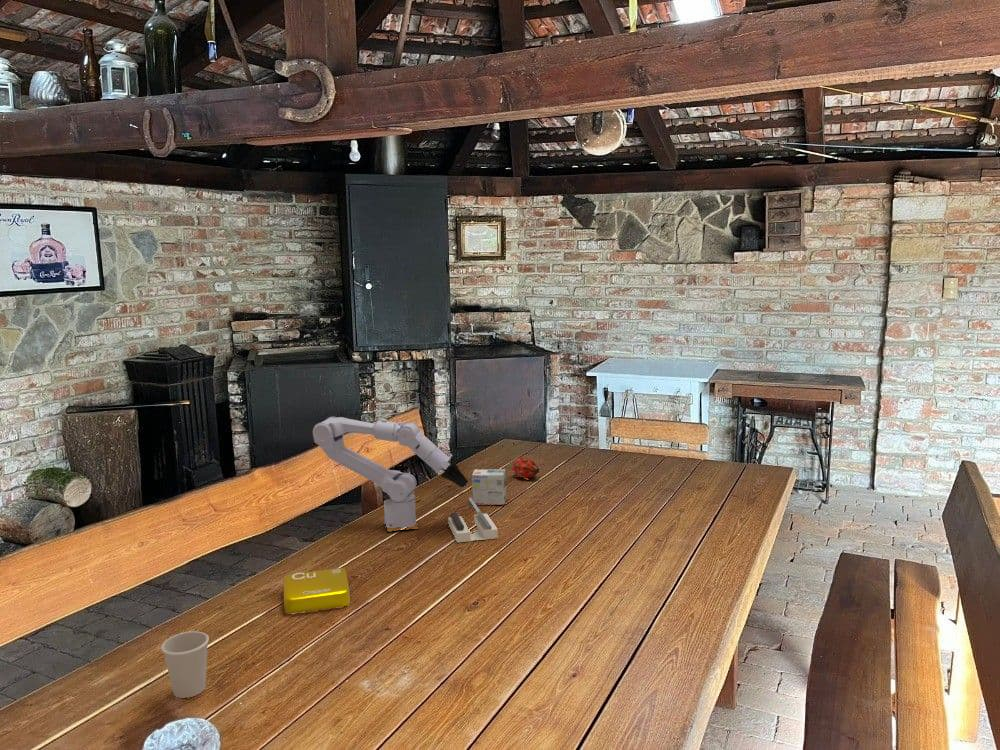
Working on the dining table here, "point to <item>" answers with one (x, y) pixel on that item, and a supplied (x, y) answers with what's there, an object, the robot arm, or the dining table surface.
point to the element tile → (316, 590)
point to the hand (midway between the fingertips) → (465, 484)
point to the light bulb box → (489, 486)
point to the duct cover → (480, 513)
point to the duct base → (481, 533)
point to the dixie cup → (186, 662)
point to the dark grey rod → (457, 521)
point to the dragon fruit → (524, 468)
